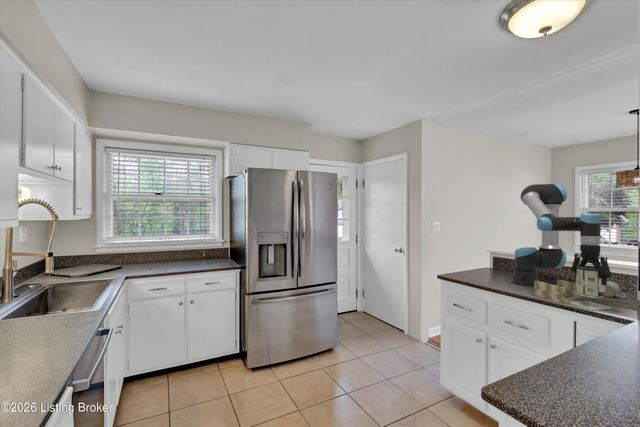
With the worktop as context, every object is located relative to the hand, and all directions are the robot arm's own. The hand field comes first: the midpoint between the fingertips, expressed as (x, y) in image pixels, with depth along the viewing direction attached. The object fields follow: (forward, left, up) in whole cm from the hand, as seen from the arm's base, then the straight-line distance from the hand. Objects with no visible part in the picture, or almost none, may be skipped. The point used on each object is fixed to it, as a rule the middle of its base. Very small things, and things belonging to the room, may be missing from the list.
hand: (590, 288), depth 149 cm
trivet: (0, 0, -9) cm, 9 cm away
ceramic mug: (-12, +30, -9) cm, 33 cm away
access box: (-15, -1, -9) cm, 17 cm away
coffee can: (0, 0, -3) cm, 3 cm away
